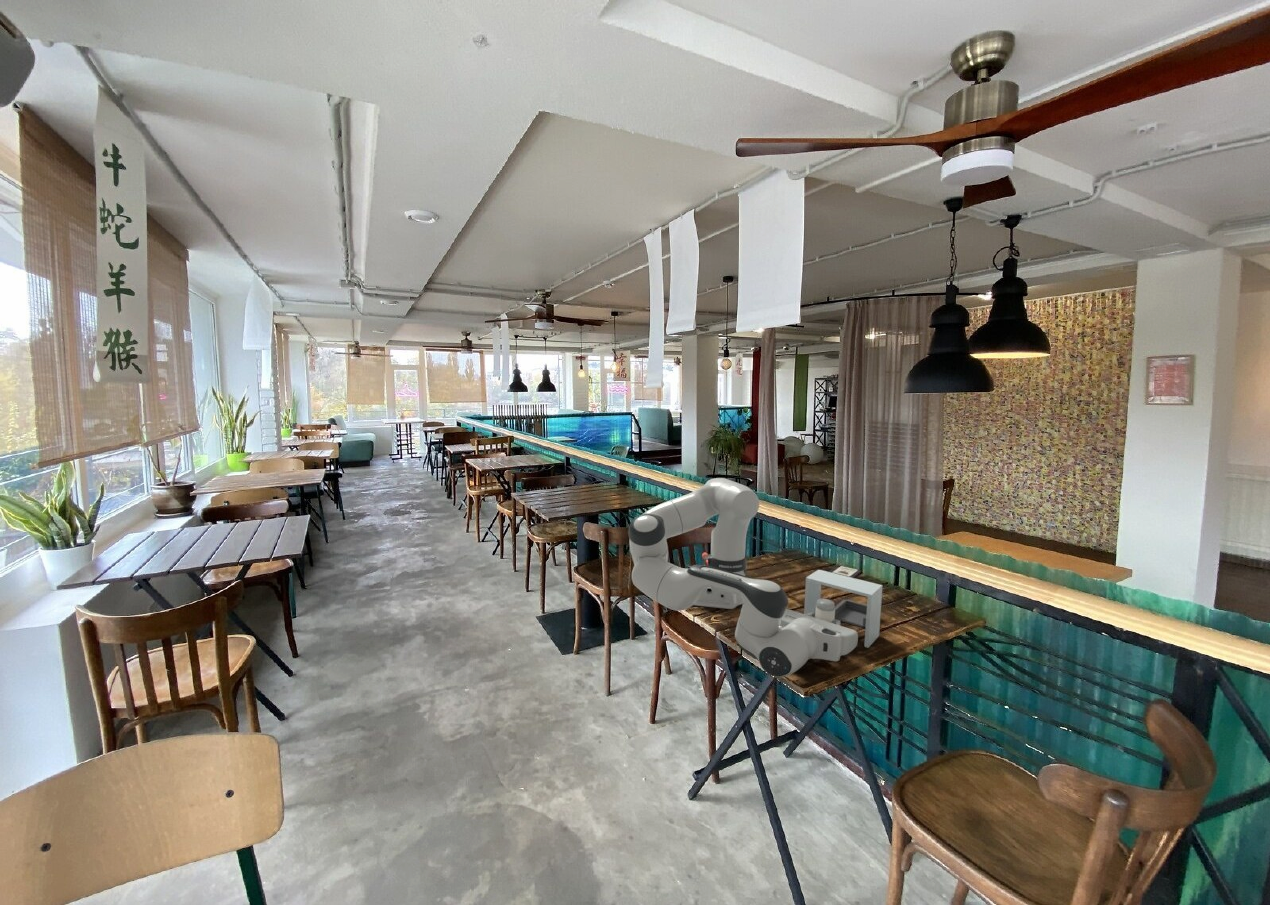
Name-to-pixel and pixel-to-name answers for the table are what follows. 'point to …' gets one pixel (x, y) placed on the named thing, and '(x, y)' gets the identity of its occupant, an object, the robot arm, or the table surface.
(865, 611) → the tray
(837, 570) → the chocolate bar
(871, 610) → the tunnel
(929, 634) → the table surface
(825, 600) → the shaker
